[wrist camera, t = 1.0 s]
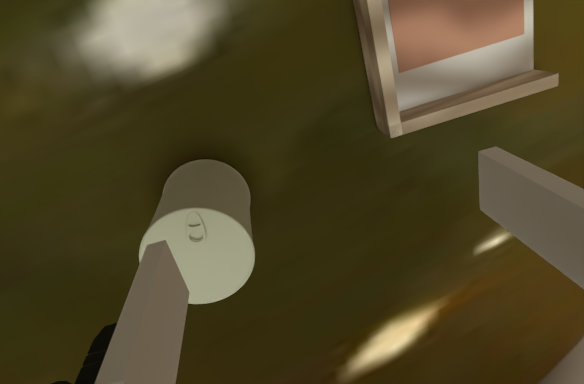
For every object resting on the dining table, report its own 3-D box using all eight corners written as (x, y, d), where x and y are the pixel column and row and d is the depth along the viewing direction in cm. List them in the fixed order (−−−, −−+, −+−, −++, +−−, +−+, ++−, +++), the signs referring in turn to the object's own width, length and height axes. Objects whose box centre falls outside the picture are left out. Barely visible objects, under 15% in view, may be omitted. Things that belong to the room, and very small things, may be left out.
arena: (335, -96, 32) (347, -110, 29) (527, -155, 33) (563, -177, 29) (377, 128, 41) (390, 138, 37) (529, 80, 41) (558, 85, 37)
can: (248, 156, 40) (253, 206, 29) (252, 233, 44) (258, 303, 33) (156, 161, 39) (126, 214, 28) (169, 240, 43) (146, 314, 32)
